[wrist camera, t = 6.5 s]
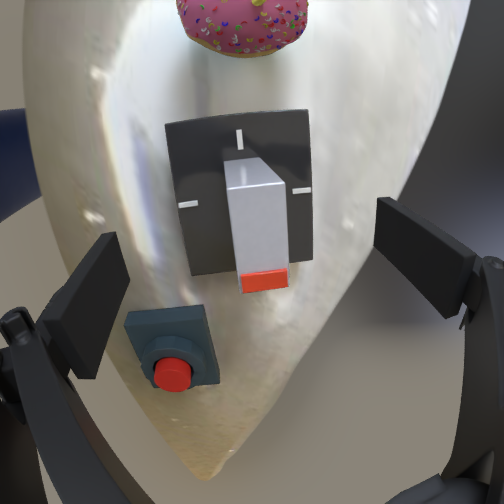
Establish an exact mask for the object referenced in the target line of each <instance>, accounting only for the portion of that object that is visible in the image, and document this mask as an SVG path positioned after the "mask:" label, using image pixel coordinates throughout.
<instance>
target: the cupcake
mask: <svg viewBox="0 0 504 504" xmlns="http://www.w3.org/2000/svg"><path fill="white" fill-rule="evenodd" d="M176 5H177V9H178V15H180V18H181V21H182V24H183V27H184V29H185V32H186V34H187V36H188V37H189V38H190V39H192V40H194V41H195V42H197V43H199V44H201V45H202V46H204V47H206V48H208V49H210V50H213V51H215V52H217V53H220V54H223V55H226V56H231V57H237V58H252V57H258V56H265V55H269V54H272V53H274V52H276V51H277V50H279V49H281V48H283V47H285V46H286V45H287V44H290V43H292V42H294V41H295V40H297V39H298V38H300V36H301V34H302V33H303V31H304V30H305V28H306V25H307V8H308V5H309V4H308V2H307V0H176Z"/></svg>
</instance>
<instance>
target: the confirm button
mask: <svg viewBox="0 0 504 504" xmlns="http://www.w3.org/2000/svg"><path fill="white" fill-rule="evenodd" d="M154 381H155V383H156V385H157V386H159V387H160V388H161V389H163V390H166V391H170V392H181V391H184V390H186V389H187V388H189V386H190V383H191V368H190V366H189V364H188V363H187V362H186V361H184V360H182V359H179V358H176V357H165V358H162V359H160V360H159V361H158V362H157V364H156V368H155V374H154Z"/></svg>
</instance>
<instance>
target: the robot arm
mask: <svg viewBox="0 0 504 504" xmlns="http://www.w3.org/2000/svg"><path fill="white" fill-rule="evenodd" d="M373 246H374V247H375V248H376V249H377V250H379V251H380V252H381V253H382V254H383V255H384V256H385V257H386V258H387V259H388V260H389V261H390V262H391V263H392V264H393V265H394V266H395V267H396V268H397V269H398V270H399V271H400V272H401V273H402V274H403V275H404V276H405V277H406V278H407V279H408V280H409V281H410V282H411V283H412V284H413V285H414V286H415V287H416V288H417V289H418V290H419V291H420V292H421V294H423V296H424V297H425V298H426V299H427V300H428V301H429V302H430V303H431V304H432V305H433V306H434V307H435V308H436V310H438V312H439V313H440V314H441V315H442V316H443V317H444V318H445V319H447V318H450V317H452V316H455V315H458V313H459V310H460V307H461V305H462V302H463V303H464V304H465V305H467V309H466V312H465V314H464V317H463V319H462V322H461V325H460V327H459V329H460V330H461V328H462V326H464V325H465V357H464V375H463V386H462V396H461V405H460V412H459V419H458V425H457V431H456V436H455V441H454V446H453V451H452V454H451V458H450V460H449V462H448V463H447V465H446V467H445V468H444V470H443V472H442V474H441V476H440V475H439V473H438V474H436V475H434V476H433V477H431V478H429V479H427V480H425V481H423V482H421V483H419V484H417V485H415V486H413V487H411V488H409V489H407V490H404V491H403V492H400V493H399V494H398V495H396V496H395V497H393V498H392V499H391V500H389V501H388V502H386V503H385V504H504V261H502V260H501V259H499V258H497V257H492V256H486V257H484V258H483V259H482V258H480V257H479V256H478V255H477V254H476V253H475V252H473V251H472V250H471V249H469V248H468V247H466V246H465V245H464V244H462V243H461V242H459V241H458V240H456V239H455V238H454V237H452V236H451V235H449V234H448V233H446V232H445V231H443V230H442V229H440V228H439V227H437V226H436V225H434V224H433V223H431V222H430V221H428V220H426V219H425V218H423V217H422V216H420V215H419V214H417V213H415V212H414V211H412V210H410V209H409V208H407V207H406V206H404V205H402V204H400V203H399V202H397V201H396V200H394V199H392V198H390V197H380V198H377V210H376V223H375V235H374V245H373ZM129 282H130V277H129V274H128V271H127V268H126V265H125V262H124V259H123V255H122V252H121V249H120V245H119V242H118V238H117V235H116V231H115V232H109V233H104V234H101V236H100V237H99V238H98V240H97V241H96V242H95V243H94V245H93V246H92V247H91V249H90V250H89V251H88V253H87V254H86V255H85V257H84V258H83V259H82V261H81V262H80V264H79V265H78V266H77V268H76V269H75V270H74V272H73V273H72V275H71V276H70V278H69V279H68V280H67V282H66V283H65V285H64V286H62V287H61V288H60V289H59V290H58V291H57V292H56V293H55V294H54V295H53V296H52V298H51V300H50V301H49V302H50V303H48V304H47V306H46V307H45V308H46V309H44V310H43V312H42V313H41V315H40V317H39V318H38V320H37V321H36V323H34V321H33V320H32V318H31V316H30V314H29V312H28V310H27V309H26V308H25V307H16V308H14V309H12V310H10V311H9V312H7V313H6V314H5V315H4V316H3V317H2V318H1V319H0V332H1V334H2V336H3V337H4V339H5V340H6V342H7V344H8V345H9V347H6V348H2V349H0V397H1V398H2V401H1V399H0V504H48V501H47V498H46V494H45V490H44V485H43V481H42V476H41V471H40V466H39V460H38V454H37V449H38V452H39V454H40V457H41V459H42V461H43V464H44V466H45V468H46V471H47V473H48V475H49V477H50V479H51V481H52V483H53V485H54V487H55V489H56V491H57V493H58V495H59V497H60V499H61V501H62V503H63V504H155V503H154V502H153V501H152V500H151V498H150V497H149V496H148V495H147V494H146V493H145V491H143V489H142V488H141V487H140V486H139V484H138V483H137V482H136V481H135V479H134V478H133V477H132V476H131V474H130V473H129V472H128V471H127V469H126V468H125V467H124V465H123V464H122V463H121V461H120V460H119V458H118V457H117V456H116V454H115V453H114V452H113V450H112V449H111V447H110V446H109V444H108V443H107V441H106V440H105V438H104V437H103V435H102V434H101V432H100V431H99V429H98V428H97V426H96V424H95V423H94V421H93V419H92V418H91V416H90V415H89V413H88V411H87V409H86V407H85V406H84V404H83V402H82V400H81V398H80V397H79V395H78V393H77V391H76V389H75V387H74V385H73V383H72V382H71V380H70V379H69V377H68V373H69V371H70V368H71V369H72V371H73V372H74V374H75V375H76V377H77V378H78V379H95V378H96V375H97V372H98V368H99V365H100V362H101V359H102V356H103V353H104V350H105V347H106V344H107V341H108V338H109V335H110V332H111V329H112V327H113V324H114V321H115V318H116V316H117V313H118V310H119V308H120V305H121V302H122V300H123V297H124V295H125V292H126V290H127V287H128V285H129ZM489 484H490V485H489Z"/></svg>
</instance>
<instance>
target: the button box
mask: <svg viewBox="0 0 504 504" xmlns="http://www.w3.org/2000/svg"><path fill="white" fill-rule="evenodd" d="M124 327H125V330H126V332H127V334H128V336H129V339H130V341H131V343H132V345H133V347H134V349H135V352H136V354H137V356H138V358H139V360H140V362H141V368H142V370H143V372H144V374H145V376H146V378H147V379H149V380H150V382H151V384H152V386H153V387H154V388H160V387H159V386H157V385H156V383H155V381H154V374H155V368H156V364H157V362H158V361H159V360H160V359H162V358H165V357H176V358H179V359H182V360H184V361H186V362H187V363H188V364H189V366H190V368H191V383H190V386H189V388H187V389H190V388H192V387H195V386H199V385H211V384H220V373H219V367H218V363H217V359H216V355H215V351H214V347H213V343H212V339H211V335H210V331H209V327H208V323H207V318H206V314H205V310H204V306H203V305H194V306H185V307H176V308H167V309H157V310H146V311H136V312H128V315H127V318H126V320H125V323H124Z"/></svg>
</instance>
